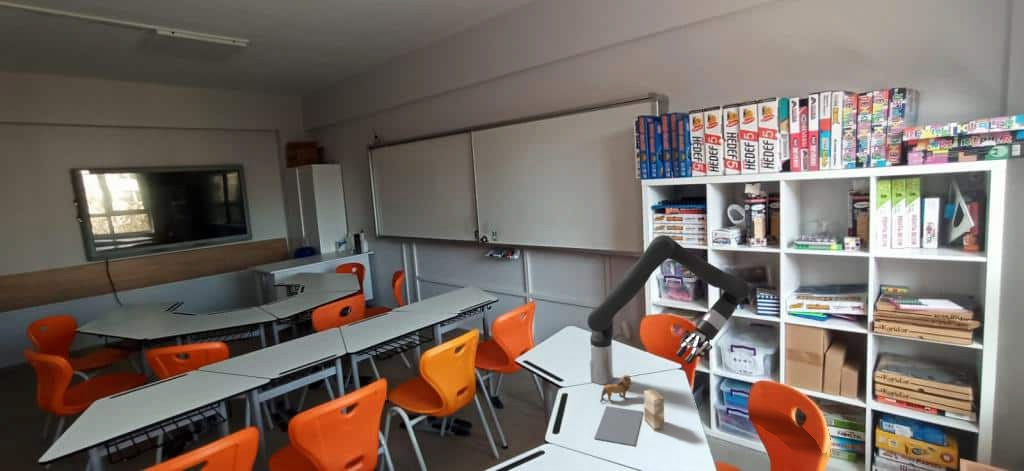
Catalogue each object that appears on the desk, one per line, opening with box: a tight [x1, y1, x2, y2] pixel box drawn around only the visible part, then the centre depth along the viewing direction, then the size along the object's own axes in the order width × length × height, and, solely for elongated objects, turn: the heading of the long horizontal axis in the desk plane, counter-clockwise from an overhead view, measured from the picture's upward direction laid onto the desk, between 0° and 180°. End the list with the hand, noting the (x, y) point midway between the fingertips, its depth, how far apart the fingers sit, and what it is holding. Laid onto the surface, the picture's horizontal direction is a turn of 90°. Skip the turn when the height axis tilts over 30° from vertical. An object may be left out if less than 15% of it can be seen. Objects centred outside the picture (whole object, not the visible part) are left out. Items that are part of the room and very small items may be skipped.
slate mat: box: [593, 405, 644, 447], centre depth 170 cm, size 14×22×1 cm, turn 157°
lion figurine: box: [599, 374, 632, 404], centre depth 188 cm, size 15×5×9 cm, turn 111°
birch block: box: [643, 388, 665, 432], centre depth 168 cm, size 4×7×12 cm, turn 12°
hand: (682, 359), depth 171 cm, fingers open, 5 cm apart
